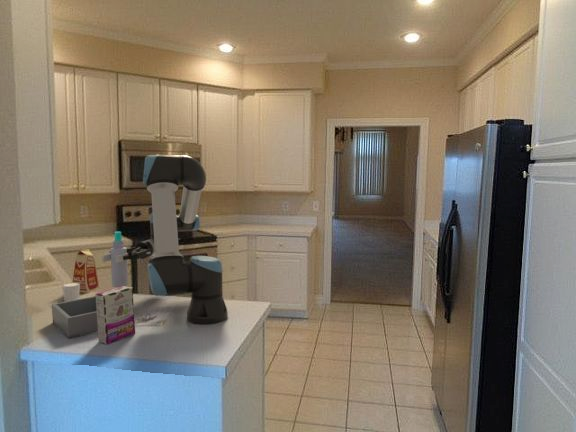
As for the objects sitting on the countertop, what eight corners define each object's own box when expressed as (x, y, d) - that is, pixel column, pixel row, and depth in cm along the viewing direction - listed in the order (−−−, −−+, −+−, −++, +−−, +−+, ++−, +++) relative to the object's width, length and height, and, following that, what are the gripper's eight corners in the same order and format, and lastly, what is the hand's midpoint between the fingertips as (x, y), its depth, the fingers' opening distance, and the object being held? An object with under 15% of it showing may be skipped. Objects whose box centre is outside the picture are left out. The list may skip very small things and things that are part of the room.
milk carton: (88, 292, 196) (86, 249, 194) (70, 291, 197) (68, 248, 195) (100, 287, 204) (98, 246, 202) (83, 286, 206) (81, 245, 204)
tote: (118, 326, 153) (117, 307, 152) (68, 338, 142) (67, 318, 141) (99, 312, 168) (98, 295, 167) (52, 322, 157) (51, 304, 156)
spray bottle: (129, 283, 176) (127, 230, 174) (125, 287, 171) (123, 232, 168) (114, 284, 176) (112, 231, 174) (110, 287, 170) (107, 233, 168)
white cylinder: (75, 297, 189) (74, 281, 188) (83, 299, 185) (82, 284, 184) (59, 300, 183) (58, 285, 182) (67, 303, 179) (66, 287, 178)
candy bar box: (126, 331, 149) (124, 285, 147) (135, 334, 146) (133, 287, 144) (97, 342, 139) (94, 292, 137) (106, 345, 137) (104, 295, 135)
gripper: (165, 258, 186) (130, 270, 165) (129, 256, 192) (90, 266, 170) (164, 241, 186) (129, 250, 164) (128, 239, 192) (89, 248, 170)
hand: (109, 259), depth 167 cm, fingers closed on spray bottle, 6 cm apart
